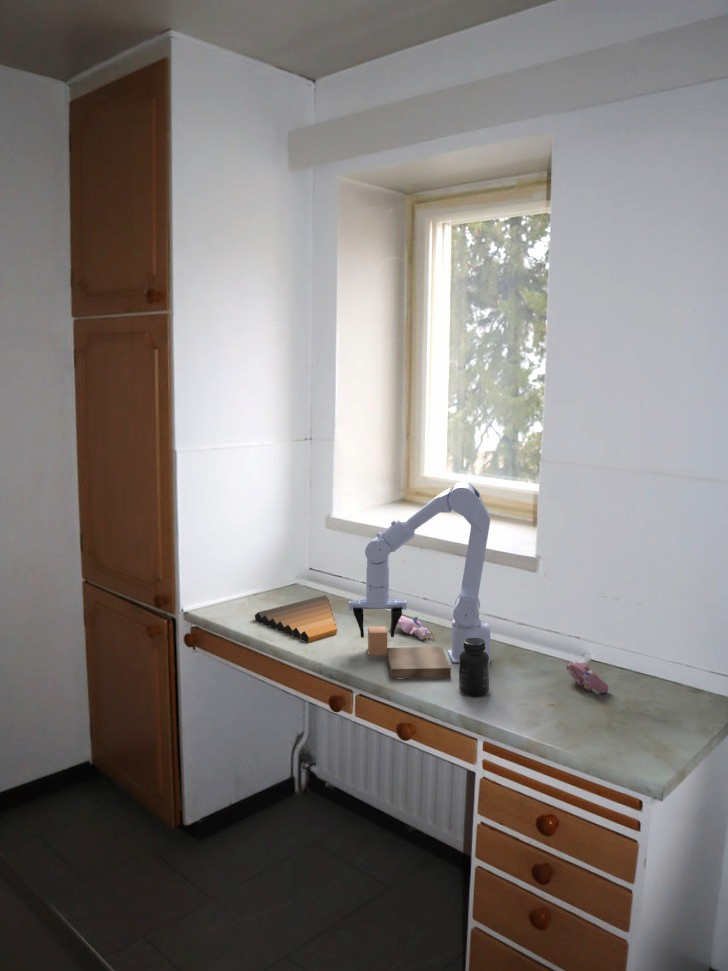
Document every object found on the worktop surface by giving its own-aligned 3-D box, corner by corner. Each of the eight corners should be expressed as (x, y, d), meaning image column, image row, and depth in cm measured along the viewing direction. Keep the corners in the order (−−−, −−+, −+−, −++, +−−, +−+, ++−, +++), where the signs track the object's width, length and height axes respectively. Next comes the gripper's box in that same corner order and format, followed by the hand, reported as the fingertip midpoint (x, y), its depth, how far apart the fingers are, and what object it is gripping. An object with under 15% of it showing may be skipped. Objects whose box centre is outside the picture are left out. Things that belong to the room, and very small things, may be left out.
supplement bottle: (479, 683, 188) (480, 634, 186) (494, 695, 182) (496, 644, 180) (453, 688, 186) (454, 637, 184) (467, 699, 179) (468, 648, 177)
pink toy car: (570, 686, 191) (559, 662, 189) (585, 675, 192) (575, 651, 190) (596, 702, 182) (585, 678, 180) (611, 691, 183) (601, 666, 181)
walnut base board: (441, 656, 205) (441, 646, 205) (450, 678, 191) (450, 667, 191) (386, 657, 204) (386, 647, 204) (391, 679, 191) (391, 669, 190)
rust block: (385, 648, 211) (385, 626, 210) (387, 655, 206) (387, 632, 205) (367, 649, 210) (368, 626, 209) (369, 655, 206) (369, 632, 205)
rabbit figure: (438, 643, 219) (400, 620, 229) (441, 623, 217) (403, 601, 228) (421, 648, 215) (384, 625, 225) (424, 628, 213) (386, 606, 224)
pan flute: (321, 604, 250) (254, 622, 233) (321, 593, 249) (254, 610, 232) (377, 624, 231) (308, 644, 215) (377, 612, 231) (308, 632, 214)
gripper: (404, 580, 210) (403, 630, 212) (348, 580, 209) (348, 631, 211) (407, 587, 203) (406, 639, 205) (349, 588, 202) (349, 640, 204)
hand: (377, 636), depth 208 cm, fingers open, 7 cm apart
